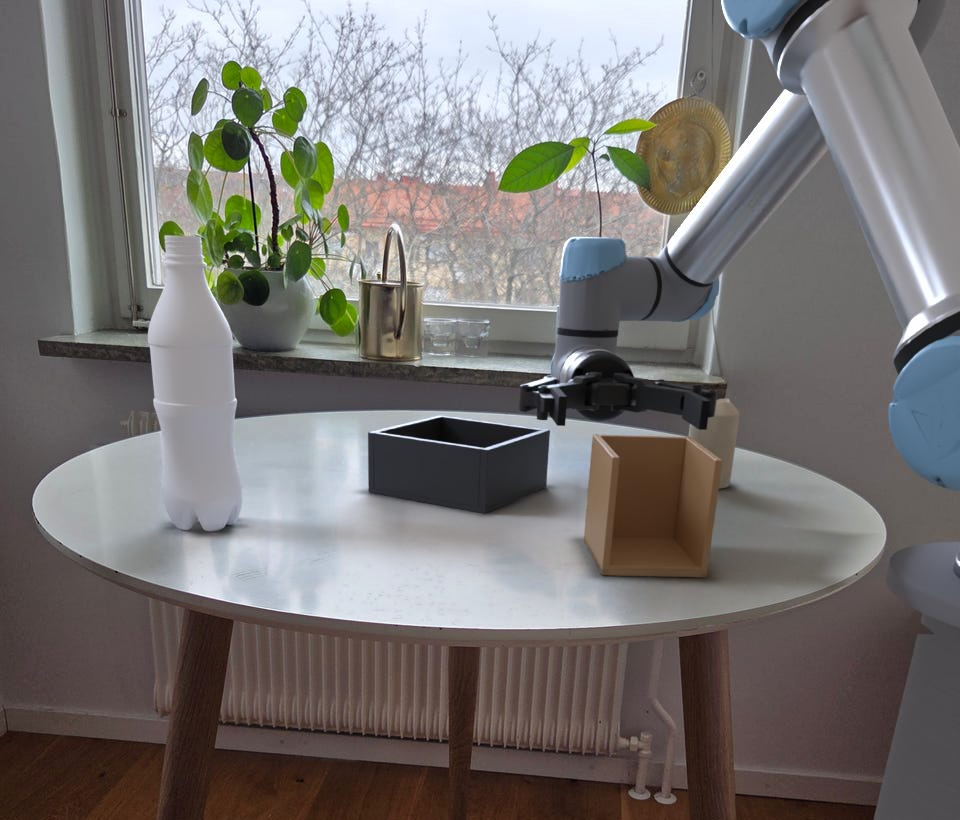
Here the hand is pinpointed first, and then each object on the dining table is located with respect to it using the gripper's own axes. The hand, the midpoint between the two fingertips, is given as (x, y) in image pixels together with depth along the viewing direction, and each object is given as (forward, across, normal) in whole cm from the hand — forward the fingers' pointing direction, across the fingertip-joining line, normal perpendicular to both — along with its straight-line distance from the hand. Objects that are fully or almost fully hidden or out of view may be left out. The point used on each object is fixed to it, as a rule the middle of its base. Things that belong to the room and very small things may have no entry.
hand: (633, 413), depth 88 cm
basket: (-14, +16, -11) cm, 24 cm away
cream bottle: (-21, -14, -11) cm, 27 cm away
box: (+10, 0, -11) cm, 15 cm away
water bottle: (+2, +40, -11) cm, 42 cm away
